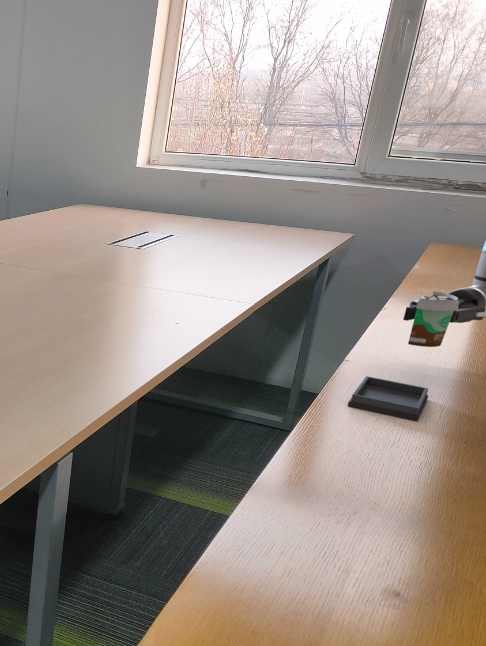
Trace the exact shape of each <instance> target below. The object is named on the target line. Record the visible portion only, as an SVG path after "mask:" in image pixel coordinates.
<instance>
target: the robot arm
mask: <svg viewBox="0 0 486 646" xmlns="http://www.w3.org/2000/svg"><path fill="white" fill-rule="evenodd" d="M477 264H478V265H477V267H476V272H475V275H474V278H473V280H472V284H471V286H466V287H461V288H457V289H454V290H451V291H449V292H448V293H447V294H450V295H453V296H455V297H457V298H458V300H457V301H458V310H455V311H453V314H452V317H451V319H450V322H449V324H450V323H451V324H453V323H456V324H462V323H471V322H472V321H483V320H484V319H485V318H486V240H484V244H483V247H482V249H481V254H480V256H479V261H478V263H477ZM426 297H428V295H422V296H421V298H422V299H425V298H426ZM418 301H419V298H417V299H413V300H411V301H410V303H409V306H407V307H405V311H404V315H403V319H402V320H403V321H405V322H406V321H412V320H414V318H415V314H416V310H417V308H416V307H417V304H418Z"/></svg>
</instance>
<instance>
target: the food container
mask: <svg viewBox="0 0 486 646" xmlns="http://www.w3.org/2000/svg"><path fill="white" fill-rule="evenodd" d="M418 299H419V301H418V304H417V307H416V308H417V310H416V314H415V318H414V319H413V322H412V325H411V326H412V327H411V331H410V335H409V338H408V343H407V345H411V346H414V347H415V346H416V347H423V348H424V347H425V348H437V347H441V346H442V343H443V340H444V338H445V336H446V333H447V329H448V327H449V325H450V319H451V317H452V314H453V311H455V310H458V301H457V300H458V298H457V297H455V296H453V295H450V294H448V293H446V292H441V291H435V290H433V292H432V295H431V296H427V297H426V298H425V299H422V297H419V298H418Z"/></svg>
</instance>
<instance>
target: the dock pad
mask: <svg viewBox="0 0 486 646" xmlns="http://www.w3.org/2000/svg"><path fill="white" fill-rule="evenodd" d="M428 391H429V388H428V387H424V386H419V385H413V384H408V383H403V382H397V381H393V380H388V379H383V378H379V377H373V376H368V375H366V376H365V377H364V378H363V380H362V381H361V383H360V384H359V385H358V387H356V389H355V391H354V392H353V393H352V395H351V397H350V399H349V401H348V402H347V407H349V408H353V409H354V408H355V409H359V410H363V411H368V412H373V413H377V414H381V415H385V416H386V415H387V416H391V417H395V418H400V419H405V420H409V421H413V422H418V421H419V419H420V417H421V414H422V412H423V410H424V408H425V406H426V403H427V401H428V399H429V394H428Z"/></svg>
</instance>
